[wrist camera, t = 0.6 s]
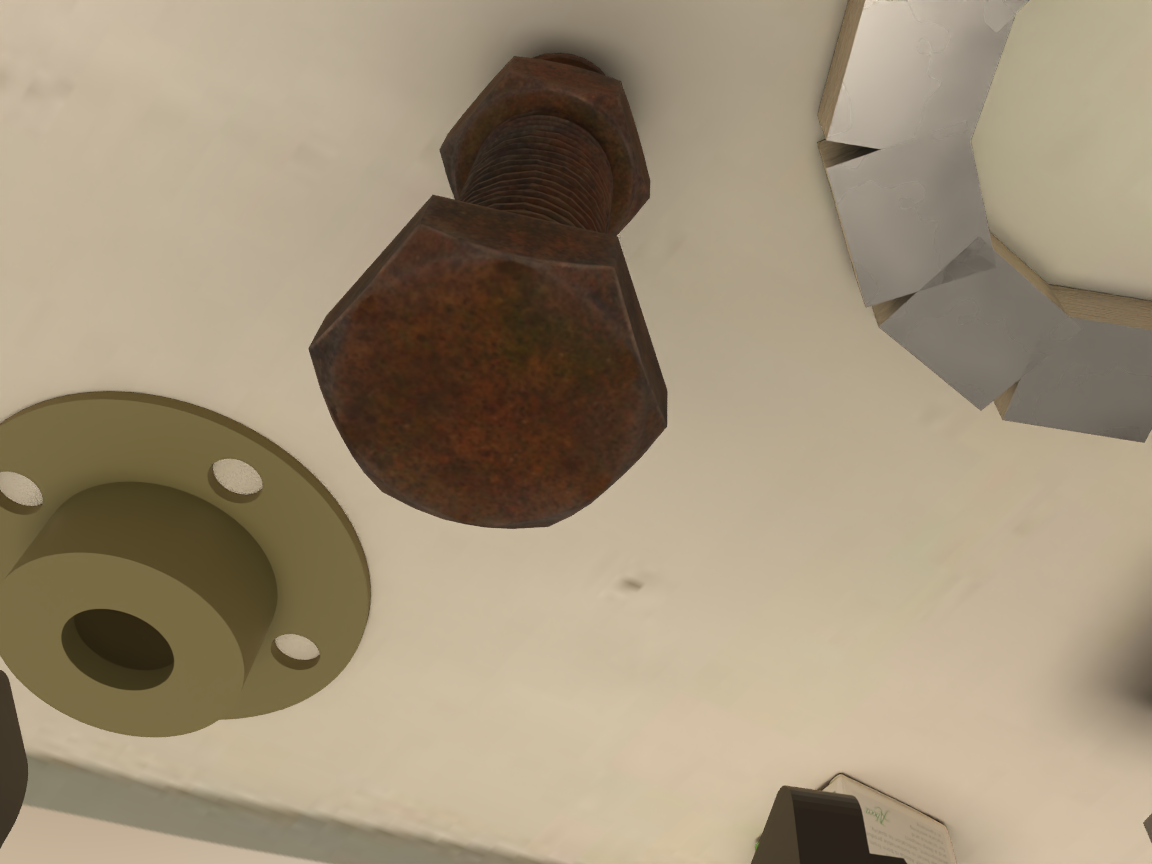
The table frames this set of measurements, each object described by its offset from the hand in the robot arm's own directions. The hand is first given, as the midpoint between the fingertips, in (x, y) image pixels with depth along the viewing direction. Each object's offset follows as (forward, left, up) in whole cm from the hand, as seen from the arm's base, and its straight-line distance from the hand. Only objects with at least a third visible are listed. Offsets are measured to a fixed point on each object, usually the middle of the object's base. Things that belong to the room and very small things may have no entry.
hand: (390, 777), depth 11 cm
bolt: (0, 0, -22) cm, 22 cm away
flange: (+12, +19, -23) cm, 32 cm away
